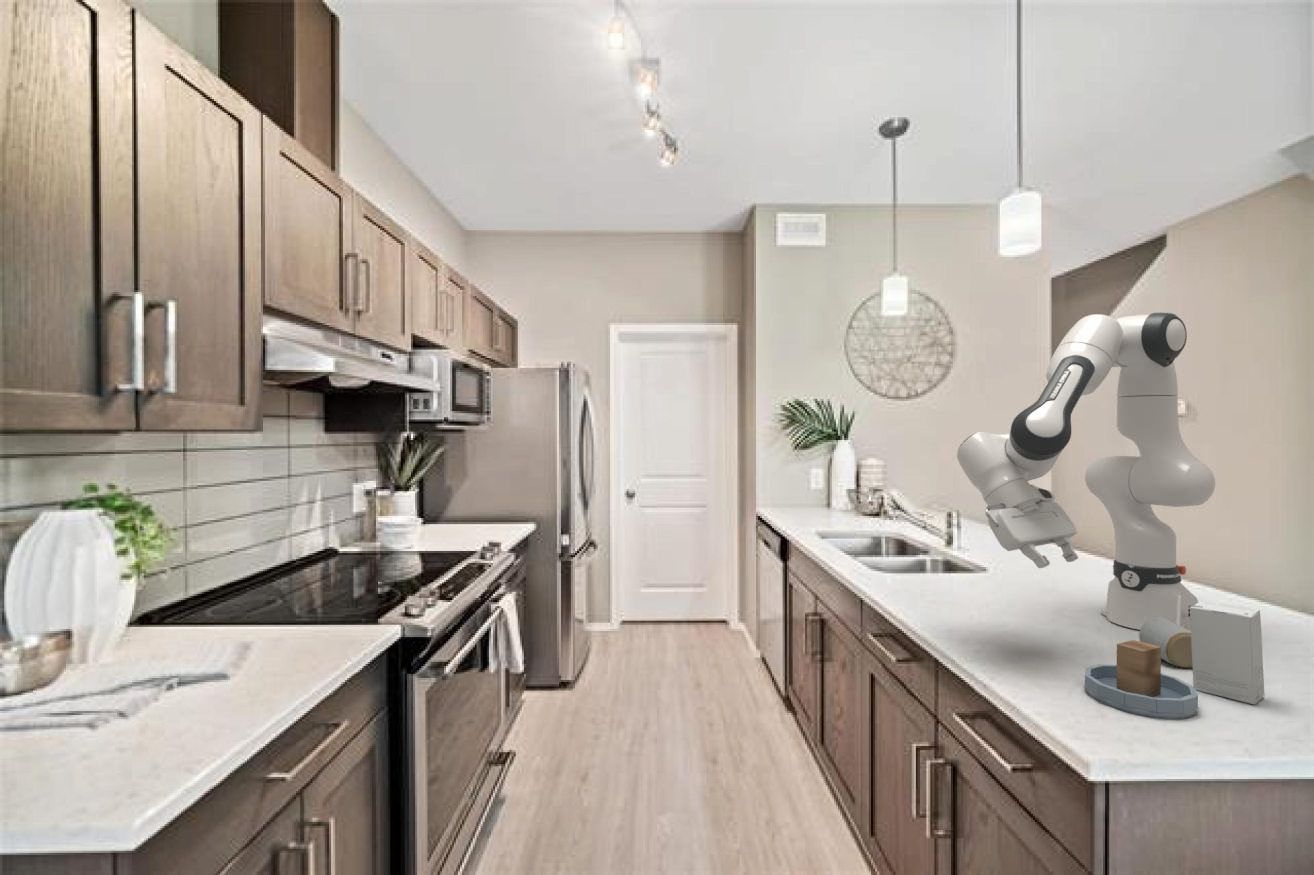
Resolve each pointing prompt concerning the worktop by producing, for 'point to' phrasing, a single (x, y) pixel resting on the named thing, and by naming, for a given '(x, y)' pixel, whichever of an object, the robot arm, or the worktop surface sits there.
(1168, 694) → the slate bowl
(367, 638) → the worktop surface
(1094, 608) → the worktop surface
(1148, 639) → the ceramic mug
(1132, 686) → the walnut block
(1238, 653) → the skincare box
